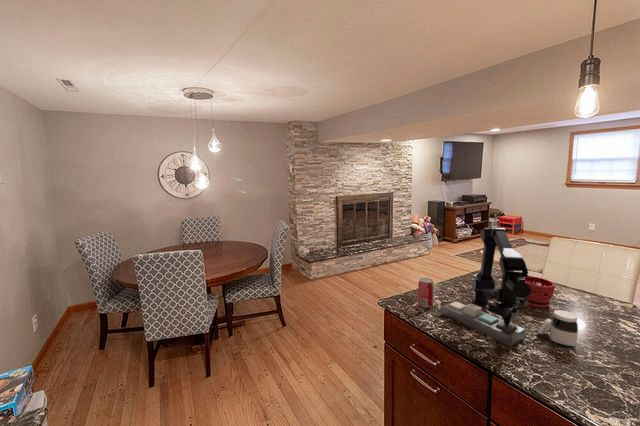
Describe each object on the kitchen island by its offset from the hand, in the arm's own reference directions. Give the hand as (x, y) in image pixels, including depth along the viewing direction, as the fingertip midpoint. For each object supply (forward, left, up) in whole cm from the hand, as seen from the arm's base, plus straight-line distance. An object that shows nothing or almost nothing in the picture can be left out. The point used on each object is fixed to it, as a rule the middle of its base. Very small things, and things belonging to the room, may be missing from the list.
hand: (506, 325), depth 117 cm
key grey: (0, -14, -2) cm, 14 cm away
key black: (0, 0, -4) cm, 4 cm away
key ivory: (0, -21, -4) cm, 21 cm away
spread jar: (-14, +12, -5) cm, 19 cm away
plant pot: (-43, -7, -5) cm, 44 cm away
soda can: (+4, -35, -5) cm, 36 cm away
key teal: (0, -7, -4) cm, 8 cm away
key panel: (0, -10, -5) cm, 12 cm away
